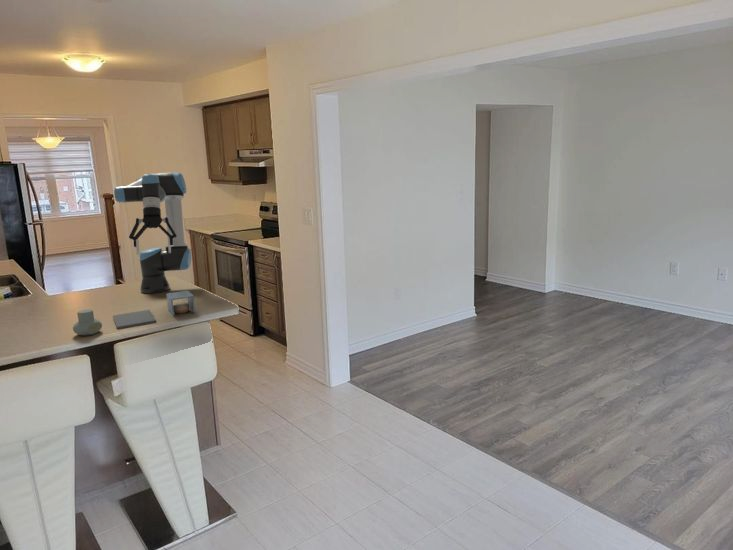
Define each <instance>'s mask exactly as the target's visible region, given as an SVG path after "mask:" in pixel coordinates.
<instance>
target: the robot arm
mask: <svg viewBox="0 0 733 550" xmlns="http://www.w3.org/2000/svg"><path fill="white" fill-rule="evenodd" d="M113 191H114V192H113V193H114V194H113V195H114V199H115V201H116V202H117V203H125V204H126V203H133V202H134V203H138V202H142V207H143V208H142V213H143V215H142V216H143V217H142V218H138V217H137V218H135V224H134V225H133V227H132V230H131V232H130V234H129V236H128V238H129V239H130V240H133V246H134V248H136V255H138V256H139V262H140V270H141V278H142V279H141V283H140V293H142V294H158V293H162V292H163V291H164V292H167V291H168V290H170V289H171V285H170V283H169V281H168V279H167V277H166V275H165V272H173V271H185V270H188V269H190V267H191V265H192V250H191V248H189V246H188V244H186V243H185V232H184V218H183V206H182V200H183V199H184V198H185V195H184V194H187V191H188V190H187V185H186V181H185V178H184V175H183V174H182V173H181V172H174V171H173V172H153V173H149V174H148V173H145V174H143V175H142V176H139V177H138V178H136V179H135V181H134V182H131V183H130V184H127V185H125V186H116V187H114V189H113ZM163 201H164V206H165V207H164V208H165V217H163V218H162V215H161V213H162V211H161V210H162V209H161V203H162V202H163ZM142 223H143V225H142V227H141V228H140V229H139V231H138V228H139V226H140V224H142ZM162 223H165V224H166V228H165V227H164V226H162ZM158 228H159V229H160V230H161V231H162V232H163V233H164V234H165V235H166V236H167V244H166V246H165V249H164V250H163V249H162V247H153V248H149V249H144V250H142V251H141V252H140V240H139V238H140V237H141V236H142V234H144V233H145V231H146V230H148V229H158ZM137 231H138V232H137ZM136 232H137V233H136ZM166 290H167V291H166ZM164 292H163V293H164Z"/></svg>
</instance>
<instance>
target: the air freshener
mask: <svg viewBox="0 0 733 550" xmlns="http://www.w3.org/2000/svg"><path fill="white" fill-rule="evenodd" d="M76 314H77V320H78V321H77V322H75V324H73V327H72V330H73V333H74V334H75V335H76V334H77V335H79V336H93V335H96V334H97V333H98V332H99V331H100V330H101V329H102V328H103V324H102V322H101V321H100V320H99V319H97V318H95V316H94V315H95V314H94V310H92V309H89V308H88V309H82V310H79V311H77V313H76Z"/></svg>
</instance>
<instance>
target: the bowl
mask: <svg viewBox="0 0 733 550" xmlns="http://www.w3.org/2000/svg"><path fill="white" fill-rule="evenodd" d="M173 308H174V314H185V313H188V311H190V308H189V304H188V302H178V303H175V304H173Z"/></svg>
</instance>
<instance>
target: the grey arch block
mask: <svg viewBox="0 0 733 550" xmlns="http://www.w3.org/2000/svg"><path fill="white" fill-rule="evenodd" d="M194 298H195V297H194V295H193V293H192V292H190V291H189V290H181V291H173V292H168V293H166V300H167V301H166V302H167V307H168V312H169V313H170V315H171V316H172V317H173V318H175V312H174V308H173V305H174V302H173V301H176V300H182V299H183V300H184V299H187V303H188V304H189V310H190V311H191V312H192V313H193V314H196V308H195V300H194Z"/></svg>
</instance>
